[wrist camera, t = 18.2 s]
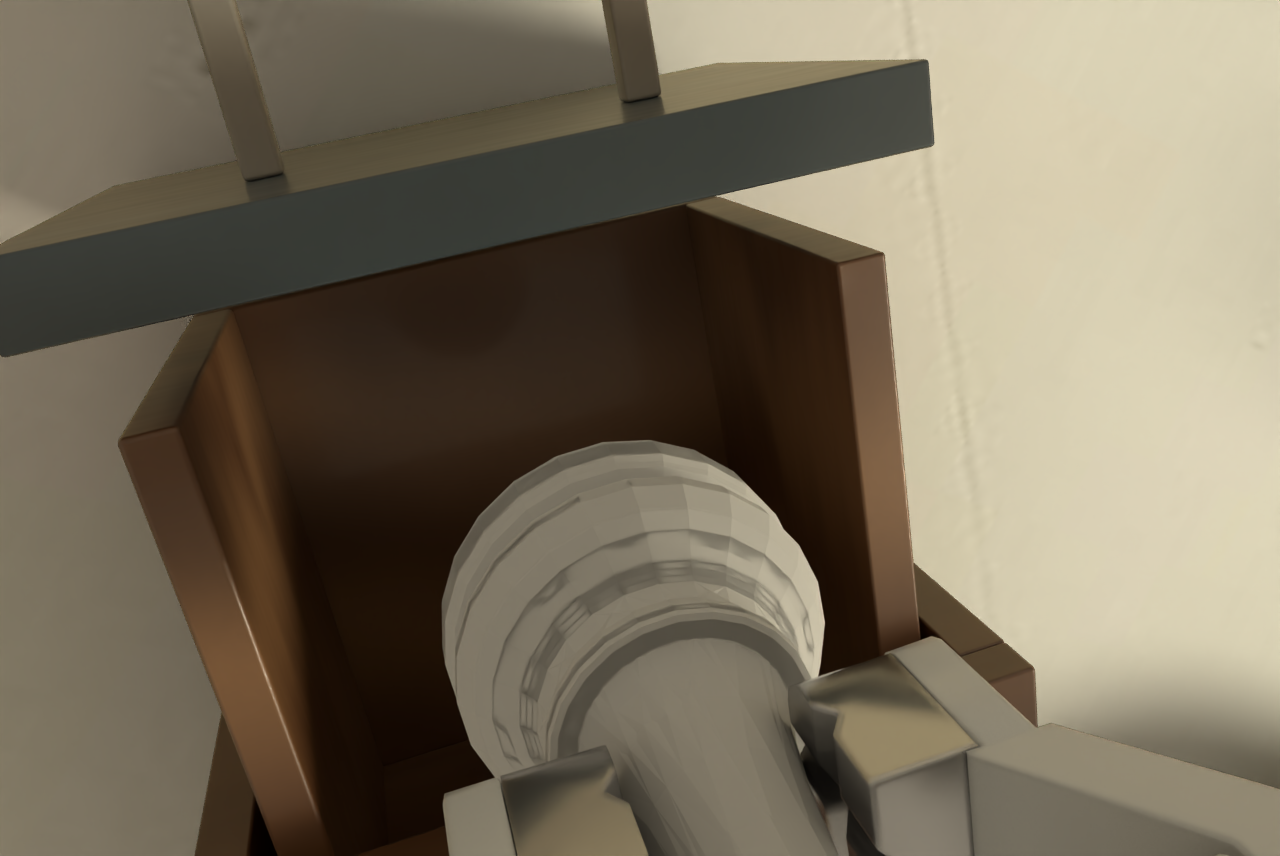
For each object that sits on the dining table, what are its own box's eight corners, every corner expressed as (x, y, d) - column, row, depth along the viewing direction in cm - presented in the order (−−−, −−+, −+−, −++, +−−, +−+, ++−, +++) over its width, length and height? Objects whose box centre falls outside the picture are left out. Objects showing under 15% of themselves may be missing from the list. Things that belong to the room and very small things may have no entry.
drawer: (13, -91, 19) (-241, -213, 11) (683, -194, 21) (899, -361, 13) (325, 782, 26) (316, 1113, 18) (800, 634, 28) (988, 865, 20)
